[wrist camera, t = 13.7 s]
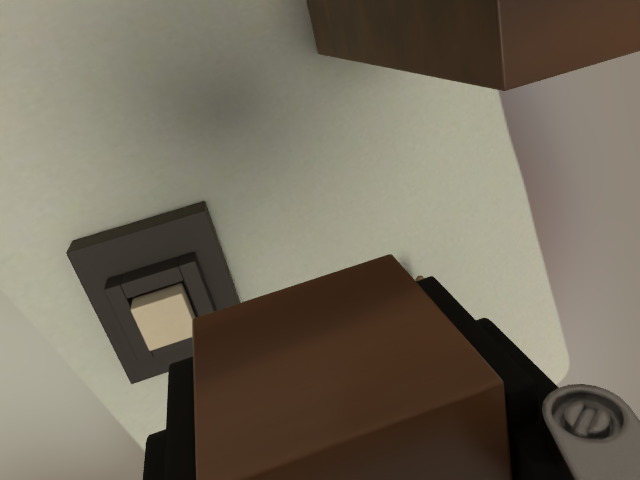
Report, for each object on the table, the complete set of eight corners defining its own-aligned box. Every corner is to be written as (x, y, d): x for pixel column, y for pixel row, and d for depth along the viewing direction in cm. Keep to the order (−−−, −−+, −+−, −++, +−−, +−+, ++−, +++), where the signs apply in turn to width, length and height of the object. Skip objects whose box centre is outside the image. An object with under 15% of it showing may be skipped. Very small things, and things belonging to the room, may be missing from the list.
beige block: (132, 297, 37) (130, 310, 35) (181, 282, 37) (181, 293, 36) (150, 338, 38) (149, 351, 37) (198, 322, 39) (198, 335, 37)
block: (190, 317, 11) (195, 495, 7) (391, 251, 11) (506, 380, 7) (251, 465, 13) (282, 672, 9) (420, 403, 13) (522, 571, 9)
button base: (71, 241, 38) (60, 263, 34) (204, 201, 39) (206, 218, 36) (133, 368, 43) (129, 399, 39) (249, 329, 44) (255, 355, 41)
